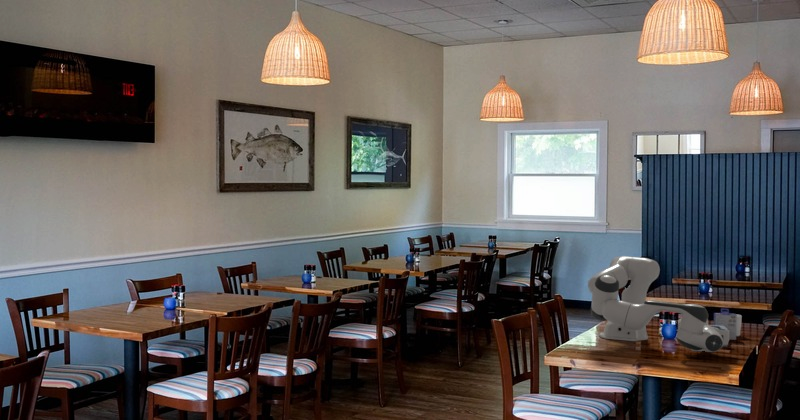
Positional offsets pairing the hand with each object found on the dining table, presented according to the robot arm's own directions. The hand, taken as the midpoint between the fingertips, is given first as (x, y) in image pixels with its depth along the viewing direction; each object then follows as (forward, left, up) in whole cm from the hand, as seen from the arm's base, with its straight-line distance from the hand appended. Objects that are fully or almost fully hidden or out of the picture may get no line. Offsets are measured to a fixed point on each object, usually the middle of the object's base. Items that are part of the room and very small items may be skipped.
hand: (702, 330), depth 355 cm
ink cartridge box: (+16, +32, -9) cm, 37 cm away
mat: (0, +2, -9) cm, 9 cm away
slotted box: (+8, +16, -9) cm, 20 cm away
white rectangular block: (0, -1, -6) cm, 6 cm away
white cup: (+22, +44, -9) cm, 50 cm away
